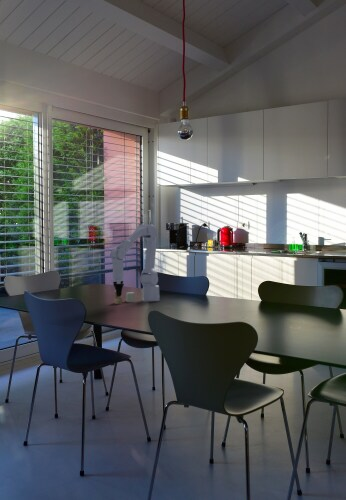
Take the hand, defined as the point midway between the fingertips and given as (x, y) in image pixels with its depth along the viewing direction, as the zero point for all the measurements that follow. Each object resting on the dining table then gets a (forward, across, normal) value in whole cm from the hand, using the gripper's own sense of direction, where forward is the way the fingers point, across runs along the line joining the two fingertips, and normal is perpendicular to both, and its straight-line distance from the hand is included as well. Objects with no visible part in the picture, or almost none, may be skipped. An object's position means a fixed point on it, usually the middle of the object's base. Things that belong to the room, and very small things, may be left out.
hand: (118, 295), depth 283 cm
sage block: (+6, -14, +7) cm, 16 cm away
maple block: (+6, -9, 0) cm, 10 cm away
